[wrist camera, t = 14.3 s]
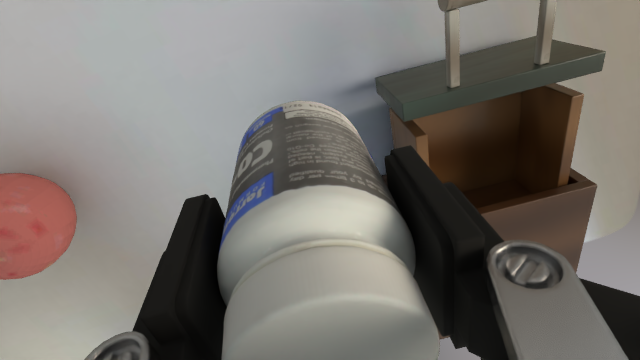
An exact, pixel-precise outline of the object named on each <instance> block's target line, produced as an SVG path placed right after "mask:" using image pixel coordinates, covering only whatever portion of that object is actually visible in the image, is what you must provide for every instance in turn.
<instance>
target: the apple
mask: <svg viewBox="0 0 640 360" xmlns="http://www.w3.org/2000/svg"><path fill="white" fill-rule="evenodd" d="M76 222H77V216H76V211H75V206H74V204H73V202H72V200H71V198H70V197H69V195H68V194H67V193H66V192H65V191H64V190H63V189H62V188H61V187H59V186H58V185H57V184H55V183H54V182H51V181H49V180H47V179H44V178H41V177H38V176H34V175H28V174H22V173H4V174H0V279H3V280H6V279H18V278H24V277H27V276H30V275H33V274H36V273H39V272H41V271H43V270H44V269H46V268H47V267H49V266H50V265H52V264H53V263H54V262H55V261H56V260H57V259H58V258H59V257H60V256H61V255H62V254H63V253H64V252H65V251H66V250H67V248H68V246H69V245H70V242H71V240H72V238H73V236H74V233H75V229H76Z"/></svg>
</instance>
